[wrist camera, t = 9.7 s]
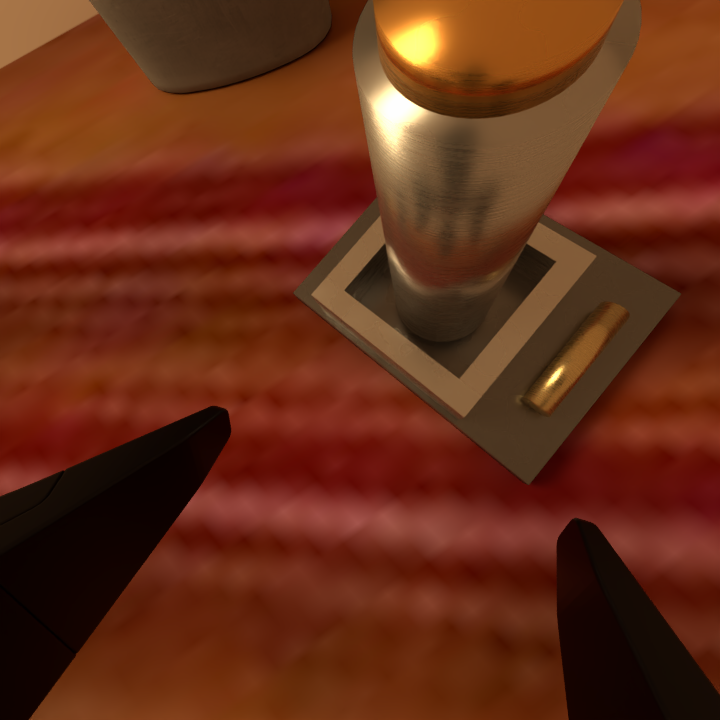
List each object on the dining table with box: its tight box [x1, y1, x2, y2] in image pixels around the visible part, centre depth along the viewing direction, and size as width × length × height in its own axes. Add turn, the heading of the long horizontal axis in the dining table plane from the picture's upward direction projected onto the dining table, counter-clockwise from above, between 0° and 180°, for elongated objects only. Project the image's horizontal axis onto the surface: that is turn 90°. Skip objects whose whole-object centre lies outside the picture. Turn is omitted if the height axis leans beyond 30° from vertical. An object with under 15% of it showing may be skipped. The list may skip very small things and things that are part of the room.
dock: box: [293, 198, 681, 485], centre depth 18 cm, size 16×12×4 cm
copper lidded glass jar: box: [353, 0, 641, 342], centre depth 12 cm, size 5×5×14 cm
